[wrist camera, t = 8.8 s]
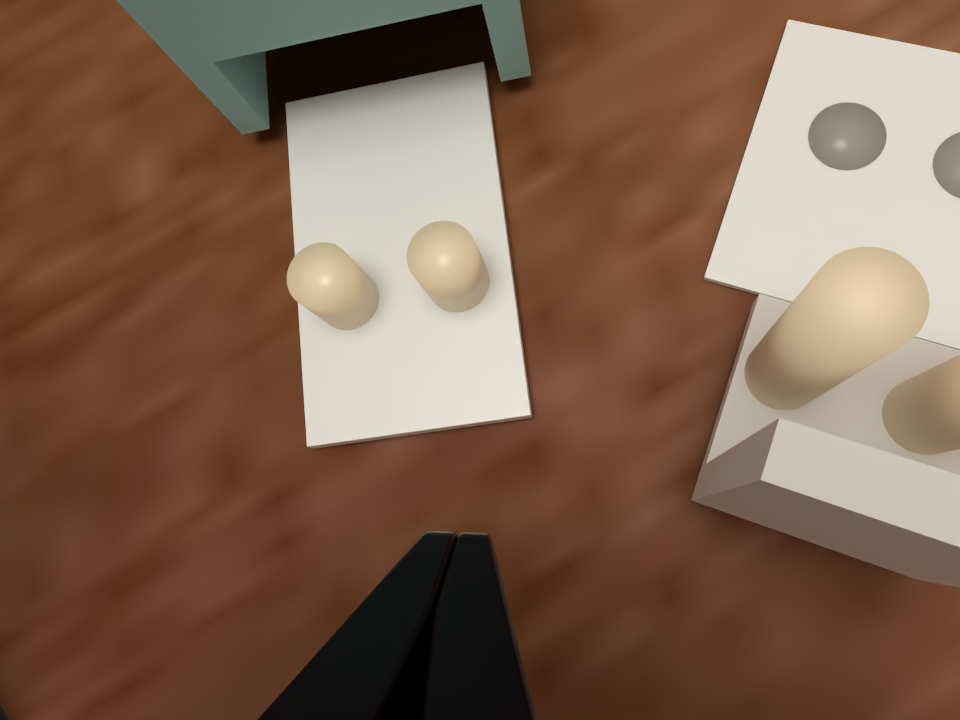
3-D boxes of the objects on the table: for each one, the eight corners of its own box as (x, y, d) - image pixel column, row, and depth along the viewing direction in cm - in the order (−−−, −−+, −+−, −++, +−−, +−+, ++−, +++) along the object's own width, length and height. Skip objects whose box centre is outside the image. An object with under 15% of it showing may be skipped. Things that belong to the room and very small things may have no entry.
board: (532, 417, 23) (521, 401, 20) (314, 448, 24) (272, 437, 21) (486, 72, 26) (470, 12, 23) (292, 112, 27) (252, 59, 24)
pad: (1024, 370, 21) (1032, 368, 20) (703, 279, 23) (704, 276, 22) (1096, 86, 22) (1104, 80, 22) (786, 24, 24) (789, 17, 24)
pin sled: (917, 580, 20) (1215, 633, 10) (690, 500, 21) (760, 479, 11) (974, 366, 20) (1297, 227, 11) (752, 303, 22) (866, 129, 12)
